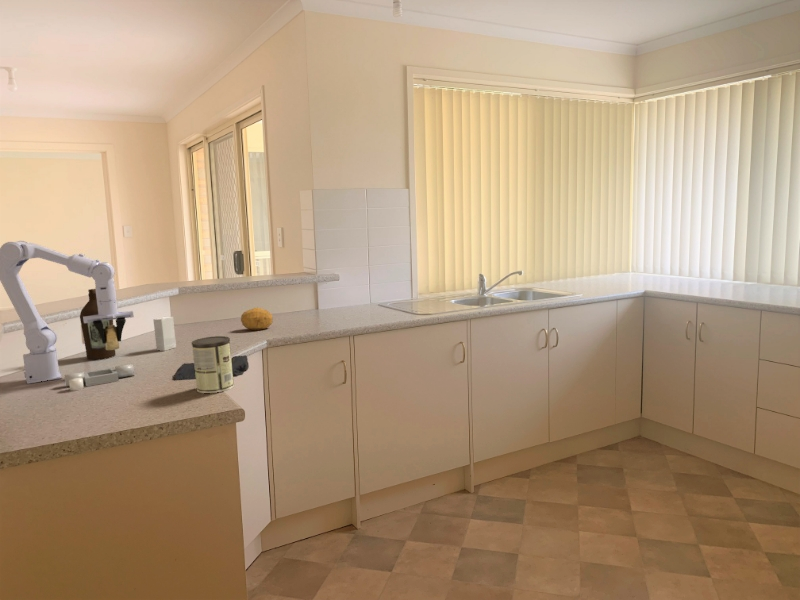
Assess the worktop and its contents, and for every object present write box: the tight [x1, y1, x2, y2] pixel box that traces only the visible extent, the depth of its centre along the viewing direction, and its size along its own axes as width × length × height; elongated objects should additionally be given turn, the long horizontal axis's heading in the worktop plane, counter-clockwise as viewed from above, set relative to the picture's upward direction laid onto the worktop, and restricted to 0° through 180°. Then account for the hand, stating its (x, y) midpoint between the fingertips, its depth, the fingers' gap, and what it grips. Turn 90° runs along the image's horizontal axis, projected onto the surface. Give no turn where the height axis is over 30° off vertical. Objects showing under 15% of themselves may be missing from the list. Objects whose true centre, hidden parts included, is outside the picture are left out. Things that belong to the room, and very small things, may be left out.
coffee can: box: [191, 335, 235, 394], centre depth 171 cm, size 10×10×14 cm
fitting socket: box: [64, 363, 135, 388], centre depth 187 cm, size 19×9×4 cm, turn 122°
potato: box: [240, 307, 274, 331], centre depth 260 cm, size 10×13×9 cm
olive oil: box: [79, 288, 116, 360], centre depth 219 cm, size 11×11×25 cm
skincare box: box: [153, 316, 177, 352], centre depth 228 cm, size 6×4×12 cm
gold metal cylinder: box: [103, 324, 120, 351], centre depth 196 cm, size 4×4×8 cm
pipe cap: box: [68, 378, 84, 392], centre depth 179 cm, size 4×4×3 cm
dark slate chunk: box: [173, 355, 250, 381], centre depth 190 cm, size 15×22×5 cm
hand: (111, 342), depth 197 cm, fingers closed on gold metal cylinder, 4 cm apart
